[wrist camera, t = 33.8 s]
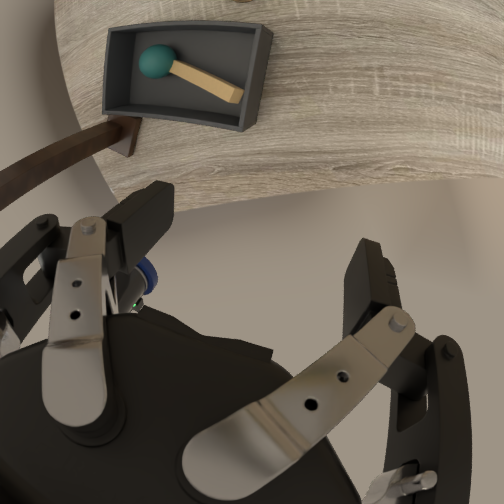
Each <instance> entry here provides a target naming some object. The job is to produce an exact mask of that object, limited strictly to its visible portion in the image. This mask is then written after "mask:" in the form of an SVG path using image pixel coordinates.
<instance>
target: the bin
mask: <svg viewBox="0 0 504 504" xmlns="http://www.w3.org/2000/svg"><path fill="white" fill-rule="evenodd" d="M273 34H274V33H273V32H271V31H270V30H269V29H267V28H266V27H265V26H264V25H262V24H254V23H244V22H231V21H206V20H190V21H165V22H152V23H142V24H133V25H126V26H119V27H113V28H109V29H108V36H107V44H106V53H105V63H104V76H103V96H102V114H107V115H123V116H135V117H146V118H155V119H164V120H172V121H179V122H186V123H193V124H199V125H206V126H211V127H217V128H223V129H228V130H233V131H238V132H244V131H245V130H247V129H248V128H250V127H251V126H253V125H254V124H256V121H257V116H258V110H259V105H260V100H261V95H262V89H263V84H264V79H265V74H266V69H267V64H268V59H269V54H270V49H271V44H272V39H273ZM156 44H163V45H167V46H169V47H171V48H172V49H173V50H174V52H175V54H176V57H177V60H179V61H183V62H186V63H188V64H190V65H193V66H195V67H197V68H200V69H202V70H204V71H206V72H208V73H211V74H213V75H215V76H217V77H219V78H221V79H223V80H225V81H227V82H229V83H231V84H233V85H235V86H237V87H239V88H241V89H243V90H244V93H243V95H242V97H241V99H240V101H239V104H236V103H229V102H227V101H225V100H223V99H221V98H219V97H218V96H216V95H214V94H212V93H210V92H208V91H207V90H205V89H203V88H201V87H199V86H197V85H195V84H193V83H191V82H189V81H187V80H185V79H183V78H181V77H179V76H177V75H175V74H173V73H170V74H168V75H167V76H165V77H163V78H159V79H152V78H148V77H146V76H145V75H144V74H143V73H142V72H141V71H140V68H139V59H140V56H141V54H142V53H143V52H144V51H145V50H146V49H147V48H148V47H150V46H153V45H156Z"/></svg>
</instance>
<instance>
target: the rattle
mask: <svg viewBox="0 0 504 504" xmlns="http://www.w3.org/2000/svg"><path fill="white" fill-rule="evenodd" d="M139 68H140V71H141V72H142V73H143V74H144V75H145V76H146V77H148V78H152V79H159V78H163V77H165V76H167V75H168V74H170V73H173V74H175V75H177V76H179V77H181V78H183V79H185V80H187V81H189V82H191V83H193V84H195V85H197V86H199V87H201V88H203V89H205V90H207V91H208V92H210V93H212V94H214V95H216V96H218V97H219V98H221V99H223V100H225V101H227V102H229V103H236V104H239V101H240V99H241V97H242V95H243V93H244V90H243V89H241V88H239V87H237V86H235V85H233V84H231V83H229V82H227V81H225V80H223V79H221V78H219V77H217V76H215V75H213V74H211V73H208V72H206V71H204V70H202V69H200V68H197V67H195V66H193V65H190V64H188V63H186V62H183V61H179V60H177V57H176V54H175V52H174V50H173V49H172V48H171V47H169V46H167V45H163V44H156V45H153V46H150V47H148V48H147V49H146V50H145V51H144V52H143V53H142V54H141V56H140V59H139Z"/></svg>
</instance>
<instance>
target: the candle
mask: <svg viewBox="0 0 504 504" xmlns="http://www.w3.org/2000/svg"><path fill="white" fill-rule="evenodd" d="M233 1H236V2H249V1H252V0H233Z"/></svg>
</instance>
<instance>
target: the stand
mask: <svg viewBox="0 0 504 504" xmlns="http://www.w3.org/2000/svg"><path fill="white" fill-rule="evenodd" d="M141 120H142V118H141V117H135V116H123V115H109V116H108V121H107V122H104V123H101V124H99V125H96V126H93V127H91V128H88V129H86V130H83V131H81V132H78V133H76V134H73V135H71V136H69V137H66V138H64V139H62V140H60V141H57V142H55V143H53V144H51V145H49V146H47V147H45V148H43V149H40V150H38V151H36V152H35V153H33V154H31V155H29V156H27V157H25V158H23V159H21V160H19V161H18V162H16V163H14V164H12V165H10V166H9V167H7V168H5V169H4V170H2V171H0V211H1V210H3V209H4V208H5V207H7V206H8V205H9V204H11V203H12V202H14V201H15V200H17V199H18V198H19V197H21V196H23V195H24V194H25V193H27V192H29V191H30V190H32V189H33V188H35V187H36V186H37V185H39V184H41V183H43V182H44V181H46V180H48V179H49V178H51V177H53V176H54V175H56V174H58V173H59V172H61V171H63V170H64V169H66V168H68V167H70V166H72V165H74V164H75V163H77V162H79V161H81V160H83V159H85V158H87V157H89V156H91V155H93V154H95V153H97V152H99V151H101V150H103V149H105V148H109V149H111V150H113V151H115V152H118V153H120V154H122V155H124V156H126V157H130V156H132V155H133V152H134V147H135V143H136V139H137V135H138V132H139V128H140V124H141Z"/></svg>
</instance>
